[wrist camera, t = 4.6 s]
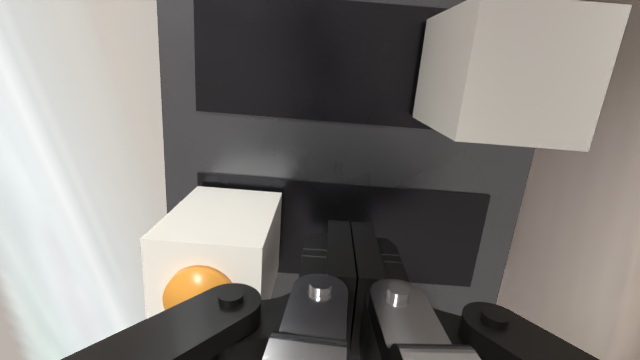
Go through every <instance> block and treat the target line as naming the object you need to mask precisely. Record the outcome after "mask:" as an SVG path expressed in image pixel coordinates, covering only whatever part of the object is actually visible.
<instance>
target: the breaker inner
mask: <svg viewBox="0 0 640 360" xmlns="http://www.w3.org/2000/svg"><path fill="white" fill-rule="evenodd" d="M631 7H632V5H628V4H616V3H603V2H591V1H579V0H466V1H464V2H462V3H460V4H458V5H456V6H454V7H452V8H450V9H448V10H445V11H443V12H441V13H439V14H437V15H435V16H433V17H431V18H429V19H427V23H426V30H425V36H424V43H423V50H422V57H421V63H420V70H419V77H418V83H417V90H416V97H415V104H414V110H413V118H415V119H417V120H418V121H420V122H422V123H424V124H425V125H427V126H429V127H431V128H432V129H434V130H436V131H438V132H439V133H441V134H443V135H445V136H446V137H448V138H450V139H452V140H453V141H457V142H469V143H482V144H495V145H508V146H520V147H533V148H546V149H559V150H571V151H584V152H589V149H590V146H591V142H592V139H593V135H594V132H595V129H596V125H597V122H598V119H599V115H600V112H601V108H602V105H603V102H604V98H605V95H606V92H607V88H608V85H609V81H610V78H611V75H612V71H613V68H614V65H615V61H616V58H617V54H618V51H619V48H620V44H621V41H622V38H623V34H624V31H625V27H626V24H627V21H628V17H629V14H630V11H631Z"/></svg>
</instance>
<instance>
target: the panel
mask: <svg viewBox="0 0 640 360" xmlns="http://www.w3.org/2000/svg"><path fill="white" fill-rule="evenodd" d="M464 1H466V0H157V16H158V36H159V57H160V77H161V98H162V118H163V138H164V159H165V179H166V199H167V214H168V213H169V212H170V211H171V210H172V209H173V208H174V207H175V206H177V205H178V204H179V203H180V202H181V201H182V200H183V199H184V198H185V197H186V196H187V195H189V194H190V193H191V192H192V191H193V190H194V189H195V188H196V187H197V186H202V187H215V188H228V189H241V190H254V191H266V192H279V193H282V204H281V225H280V246H279V266H278V271H277V276H276V280H275V284H274V288H273V292H272V296H271V299H273V298H278V297H281V296H284V295H286V294H288V293H290V292H291V290H292V286H293V284H294V282H295V281H296V280H297V279H298V278H299V272H300V265H301V258H302V252H303V245H304V239H305V238H307V237H308V236H309V235H310V234H311V233H320V234H327V227H328V220H336V221H349V222H365V223H372V224H373V227H374V231H375V235H376V238H388V239H389V240H390V241H391V242H392V243H393V244H395V245H396V246H397V249H398V252H399V256H400V257H401V260H402V263H403V265H404V268H405V271H406V273H407V276H408V279H409V281H410V283H411V284H413V285H415V286H417V287H418V288H419V289H421V290H422V291H423V292H424V294H425V295H426V297H427V299H428V301H429V303H430V305H431V306H432V307H433V308H436V309H438V310H441V311H445V312H448V313H452V314H456V315H459V316H461V315H462V310H463V308H464V306H465V305H467V304H469V303H472V302H487V303H492V304H496V301H497V297H498V293H499V289H500V285H501V281H502V277H503V273H504V269H505V265H506V261H507V257H508V253H509V249H510V245H511V241H512V237H513V233H514V229H515V225H516V221H517V217H518V213H519V209H520V205H521V201H522V197H523V193H524V189H525V186H526V182H527V178H528V174H529V170H530V166H531V162H532V158H533V154H534V150H535V148H533V147H520V146H508V145H495V144H482V143H469V142H457V141H453V140H452V139H450V138H448V137H446V136H445V135H443V134H441V133H439V132H438V131H436V130H434V129H432V128H431V127H429V126H427V125H425V124H424V123H422V122H420V121H418V120H417V119H415V118H413V110H414V104H415V97H416V90H417V83H418V77H419V70H420V63H421V57H422V50H423V43H424V36H425V30H426V23H427V19H429V18H431V17H433V16H435V15H437V14H439V13H441V12H443V11H445V10H448V9H450V8H452V7H454V6H456V5H458V4H460V3H462V2H464ZM346 360H361V356H360V355H350V344H349V352H348V355H347V359H346Z"/></svg>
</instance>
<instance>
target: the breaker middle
mask: <svg viewBox="0 0 640 360" xmlns="http://www.w3.org/2000/svg"><path fill="white" fill-rule="evenodd" d="M281 204H282V193H279V192H266V191H254V190H241V189H228V188H215V187H202V186H197V187H196V188H195V189H194V190H193V191H192V192H191V193H190V194H189V195H187V196H186V197H185V198H184V199H183V200H182V201H181V202H180V203H179V204H178V205H177V206H175V207H174V208H173V209H172V210H171V211H170V212H169V213H168V214H167V215H166V216H165V217H163V218H162V219H161V220H160V221H159V222H158V223H157V224H156V225H155V226H154V227H153V228H152V229H150V230H149V231H148V232H147V233H146V234H145V235H144V236H143V237H142V238H141V239H140V243H141V257H142V270H143V284H144V297H145V311H146V319H148V318H150V317H152V316H154V315H156V314H158V313H160V312H163V311H165V310H167V309H169V308H171V307H173V306H175V305H177V304H179V303H182V302H184V301H186V300H188V299H190V298H192V297H194V296H196V295H198V294H201V293H203V292H205V291H207V290H209V289H211V288H213V287H216V286H219V285H222V284H228V283H241V284H246V285H249V286H251V287H253V288H255V289H256V290H257V291H258V292H259V293H260V295H261V300H266V299H271V296H272V292H273V288H274V284H275V280H276V276H277V271H278V266H279V246H280V225H281Z"/></svg>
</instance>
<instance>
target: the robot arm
mask: <svg viewBox="0 0 640 360" xmlns="http://www.w3.org/2000/svg"><path fill="white" fill-rule="evenodd" d="M349 344H350V355H360V356H361V360H599V359H597V358H595V357H593V356H592V355H590V354H588V353H586V352H584V351H583V350H581V349H579V348H577V347H575V346H573V345H572V344H570V343H568V342H566V341H564V340H563V339H561V338H559V337H557V336H555V335H553V334H552V333H550V332H548V331H546V330H544V329H543V328H541V327H539V326H537V325H535V324H533V323H532V322H530V321H528V320H526V319H524V318H523V317H521V316H519V315H517V314H515V313H513V312H512V311H510V310H508V309H506V308H504V307H501V306H499V305H496V304H492V303H487V302H472V303H469V304H467V305H465V306H464V308H463V310H462V315H461V316H459V315H456V314H452V313H448V312H445V311H441V310H438V309H436V308H433V307H432V306H431V305H430V303H429V301H428V299H427V297H426V295H425V294H424V292H423V291H422V290H421V289H419V288H418V287H417V286H415V285H413V284H411V283H410V281H409V279H408V276H407V273H406V271H405V268H404V265H403V263H402V260H401V257H400V256H399V252H398V249H397V246H396V245H395V244H393V243H392V242H391V241H390V240H389V239H388V238H376V235H375V231H374V227H373V224H372V223H365V222H349V221H336V220H328V227H327V234H320V233H311V234H310V235H309V236H308V237H307V238H305V239H304V245H303V252H302V258H301V265H300V272H299V278H298V279H297V280H296V281H295V282H294V284H293V286H292V290H291V292H290V293H288V294H286V295H284V296H281V297H278V298H273V299H266V300H261V295H260V293H259V292H258V291H257V290H256V289H255V288H253V287H251V286H249V285H246V284H241V283H228V284H222V285H219V286H216V287H213V288H211V289H209V290H207V291H205V292H203V293H201V294H198V295H196V296H194V297H192V298H190V299H188V300H186V301H184V302H182V303H179V304H177V305H175V306H173V307H171V308H169V309H167V310H165V311H163V312H160V313H158V314H156V315H154V316H152V317H150V318H148V319H146V320H144V321H141V322H139V323H137V324H135V325H133V326H131V327H129V328H127V329H125V330H122V331H120V332H118V333H116V334H114V335H112V336H110V337H108V338H106V339H103V340H101V341H99V342H97V343H95V344H93V345H91V346H89V347H87V348H84V349H82V350H80V351H78V352H76V353H74V354H72V355H70V356H68V357H65V358H63V359H61V360H346V359H347V355H348V352H349Z"/></svg>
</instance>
